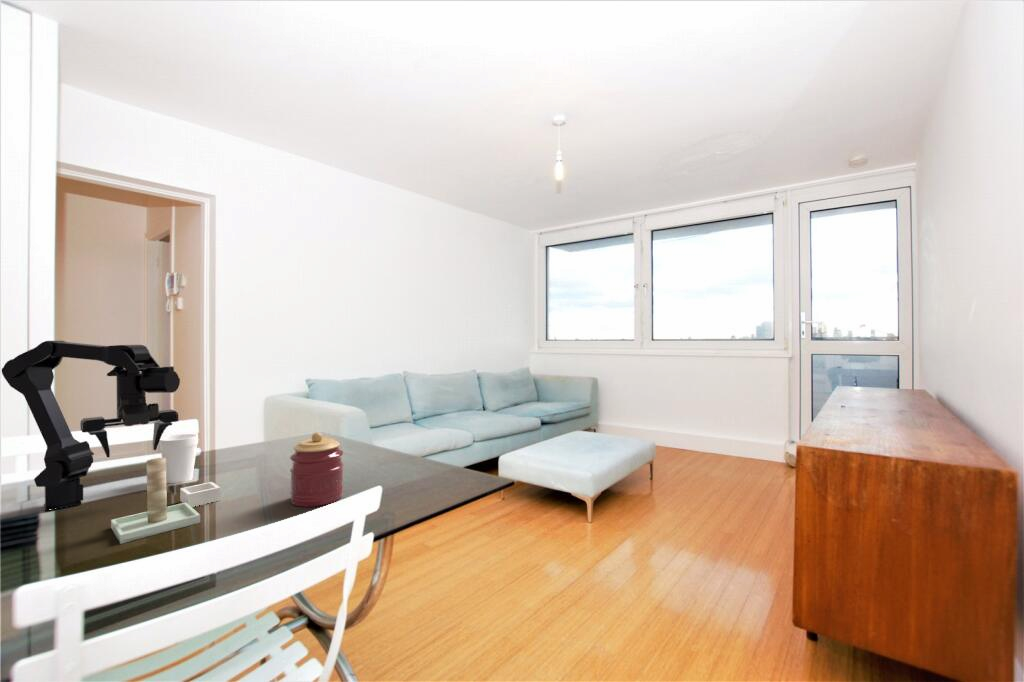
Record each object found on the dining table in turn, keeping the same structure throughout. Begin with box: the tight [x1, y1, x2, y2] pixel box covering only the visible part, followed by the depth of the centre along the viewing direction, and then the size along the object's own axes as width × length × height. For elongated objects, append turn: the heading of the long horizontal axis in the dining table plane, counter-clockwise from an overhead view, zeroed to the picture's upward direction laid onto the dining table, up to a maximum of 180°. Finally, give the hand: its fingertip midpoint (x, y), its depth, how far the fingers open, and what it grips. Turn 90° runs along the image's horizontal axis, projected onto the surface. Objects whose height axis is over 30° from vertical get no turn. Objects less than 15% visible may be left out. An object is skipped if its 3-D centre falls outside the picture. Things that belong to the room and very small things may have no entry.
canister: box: [289, 431, 345, 508], centre depth 118 cm, size 13×13×18 cm
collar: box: [179, 481, 221, 508], centre depth 117 cm, size 7×7×4 cm
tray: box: [110, 502, 201, 545], centre depth 102 cm, size 14×12×2 cm
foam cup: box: [158, 433, 199, 484], centre depth 134 cm, size 10×9×13 cm
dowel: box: [146, 457, 168, 523], centre depth 103 cm, size 4×4×14 cm
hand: (132, 453), depth 115 cm, fingers open, 9 cm apart
